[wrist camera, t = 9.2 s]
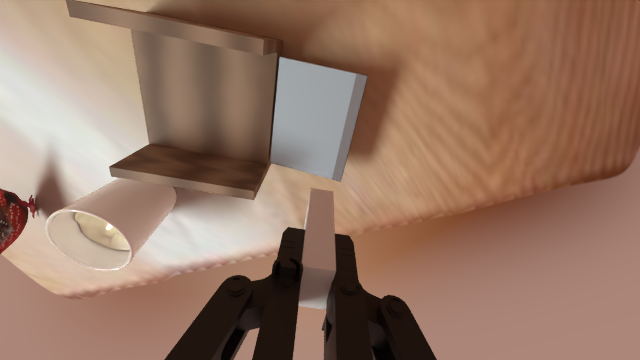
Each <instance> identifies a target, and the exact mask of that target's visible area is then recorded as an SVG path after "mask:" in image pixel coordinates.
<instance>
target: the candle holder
mask: <svg viewBox="0 0 640 360" xmlns="http://www.w3.org/2000/svg"><path fill="white" fill-rule="evenodd" d="M176 200H177V195H176V191H175V189H174V187H172V186H166V185H160V184H154V183H148V182H142V181H136V180H130V179H124V178H117V179H116V180H114V181H112V182H110V183H108V184H106V185H105V186H103V187H101V188H99V189H97V190H96V191H94V192H92V193H90V194H88V195H86V196H85V197H83V198H81V199H79V200H77V201H76V202H74V203H72V204H70V205H68V206H66V207H65V208H63V209H60V210H58V211H56V212H54V213H53V214H51V215H50V216H49V218H48V219H47V222H46V233H47V235H48V238H49V239H50V241H51V242H52V244H53V245H54V246H55V247H56V248H57V249H58V250H59V251H60V252H61V253H62V254H63V255H65V256H66V257H68V258H69V259H71V260H73V261H74V262H76V263H78V264H81V265H83V266H86V267H89V268H92V269H97V270H104V271H111V270H118V269H121V268H123V267H125V266H126V265H128V264H129V263H130V262H131V260H132V259H133V257H134V256H135V254H136V253H137V252H138V251H139V249H140V248H141V247H142V246H143V245H144V243H145V242H146V241H147V240H148V238H149V237H150V236H151V235H152V233H153V232H154V231H155V230H156V229H157V227H158V226H159V225H160V224H161V222H162V221H163V220H164V219H165V217H166V216H167V215H168V214H169V212H170V211H171V210H172V208H173V207H174V205H175V203H176Z"/></svg>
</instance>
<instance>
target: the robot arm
mask: <svg viewBox="0 0 640 360" xmlns="http://www.w3.org/2000/svg"><path fill="white" fill-rule="evenodd" d="M326 304H327V308H326V311H327V313H326V316H325V319H324V323H323V326H322V330H323V331H324V360H437V359H436V357H435V356H434V354H433V352H432V350H431V348H430V346H429V345H428V343H427V341H426V339H425V337H424V335H423V333H422V331H421V330H420V328H419V326H418V324H417V322H416V320H415V318H414V316H413V315H412V313H411V311H410V309H409V307H408V306H407V304H406V303H405V302H404V301H402V300H401V299H400V298H398V297H396V296H392V295H387V296H384V297H383V298H382V299H380V298H378V297H376V296H374V295H371V294H370V293H368V292H367V291H365V290H364V289H363V288H362V286H361V284H360V283H359V280H358V275H357V267H356V259H355V252H354V243H353V241H352V240H351V238H350V236H347V235H341V234H335V229H334V201H333V191H327V190H320V189H314V188H311V190H310V196H309V202H308V207H307V213H306V218H305V226H304V229H297V228H290V227H288V228H287V229H286V230H285V231H284V232H283V235H282V240H281V244H280V248H279V252H278V257H277V260H275V262H274V264H273V269H272V274H271V275H269V276H268V277H266V278H265V279H261V280H256V281H251V280H250V279H249V278H247V277H245V276H241V275H236V276H232V277H230V278H227V279H226V280H225V281H224V282H223V283H222V284H221V285H220V287H219V288H218V290H217V291H216V292H215V293H214V295H213V296H212V298H211V299H210V300H209V302H208V303H207V304H206V305H205V307H204V308H203V309H202V311H201V312H200V313H199V315H198V316H197V317H196V319H195V320H194V321H193V323H192V324H191V325H190V327H189V328H188V329H187V331H186V332H185V333H184V335H183V336H182V337H181V338H180V340H179V341H178V343H177V344H176V345H175V346H174V348H173V349H172V350H171V352H170V353H169V354H168V356H167V357H166V359H165V360H233V359H234V358H235V356H236V354H237V352H238V350H239V348H240V346H241V345H242V343H243V341H244V339H245V337H246V335H247V333H248V331H249V330H251V329H255V328H260V329H259V333H258V337H257V341H256V346H255V350H254V354H253V358H252V360H292V359H293V351H294V341H295V332H296V323H297V314H298V313H297V312H298V306H304V307H311V308H319V309H325V307H326Z"/></svg>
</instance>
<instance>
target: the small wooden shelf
mask: <svg viewBox="0 0 640 360" xmlns="http://www.w3.org/2000/svg"><path fill="white" fill-rule="evenodd" d="M66 3H67V7H68V11H69V15H70V17H75V18H80V19H85V20H90V21H95V22H100V23H105V24H110V25H115V26H119V27H124V28H129V29H131V34H132V41H133V47H134V53H135V59H136V65H137V71H138V77H139V83H140V90H141V96H142V102H143V108H144V114H145V120H146V126H147V132H148V139H149V145H147V146H145V147H143V148H142V149H140V150H138V151H136V152H135V153H133V154H131V155H129V156H128V157H126V158H124V159H122V160H120V161H119V162H117V163H115V164H113V165H112V166H110V167H109V169H110V173H111V176H112V177H118V178H124V179H130V180H136V181H142V182H148V183H154V184H160V185H166V186H172V187H178V188H184V189H190V190H196V191H202V192H208V193H215V194H221V195H227V196H233V197H239V198H245V199H251V200H254V199H255V197H256V194H257V192H258V190H259V188H260V186H261V184H262V182H263V180H264V178H265V175H266V173H267V171H268V169H269V167H270V165H271V163H270V157H271V146H272V136H273V125H274V114H275V103H276V92H277V81H278V70H279V59H280V57H281V55H282V44H283V40H278V39H273V38H268V37H263V36H258V35H253V34H248V33H244V32H239V31H234V30H229V29H224V28H219V27H214V26H210V25H205V24H200V23H195V22H190V21H185V20H180V19H176V18H171V17H166V16H161V15H156V14H151V13H146V12H141V11H135V10H129V9H123V8H117V7H111V6H105V5H99V4H93V3H87V2H81V1H75V0H66Z"/></svg>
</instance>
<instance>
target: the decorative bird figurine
mask: <svg viewBox="0 0 640 360" xmlns="http://www.w3.org/2000/svg"><path fill="white" fill-rule="evenodd" d="M31 198H32V195H31V197H30V198H29V203H27V202H26V201H22V200H21V199H20V198H19V197H18V196H17V195H16V194H15V193H13V192H9V191H5V190H2V189H0V254H1V253H2V252H3V251H4V250H5V249H6V248H8V247H9V246H10V245H11V244H12V243H13V242H14V241H15V240H16V239H17V238H18V237H19V235H20V234H21V233H22V231H23V229H24V227H25V225H26V223H27V219H28V208H27V207H29V208H30V212H32V213H33V215H32V216H33V218H34V213H35V211H36V207H35V204H34V199H33V198H32V199H31Z"/></svg>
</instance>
